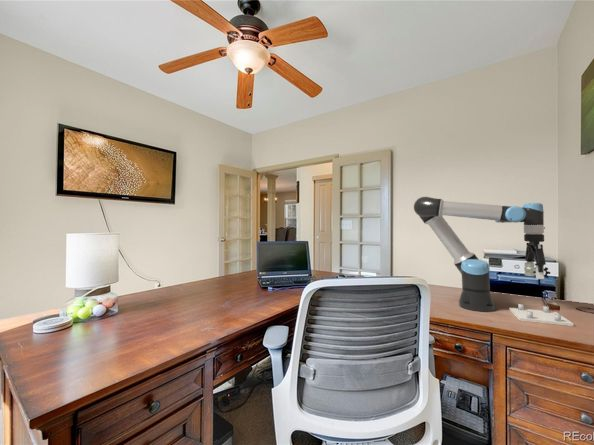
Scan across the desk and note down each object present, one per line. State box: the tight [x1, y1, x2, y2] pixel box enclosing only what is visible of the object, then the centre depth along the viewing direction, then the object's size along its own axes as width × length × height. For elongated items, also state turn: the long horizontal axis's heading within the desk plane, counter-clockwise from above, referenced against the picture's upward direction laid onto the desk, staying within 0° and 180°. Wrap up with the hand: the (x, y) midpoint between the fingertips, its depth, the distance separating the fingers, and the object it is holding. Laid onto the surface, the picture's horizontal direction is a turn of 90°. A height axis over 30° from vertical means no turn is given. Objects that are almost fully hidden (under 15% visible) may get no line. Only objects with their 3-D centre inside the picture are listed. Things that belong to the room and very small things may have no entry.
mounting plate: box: [509, 303, 574, 327], centre depth 116 cm, size 17×16×4 cm
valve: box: [523, 262, 551, 281], centre depth 132 cm, size 7×7×12 cm
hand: (535, 276), depth 131 cm, fingers closed on valve, 12 cm apart
